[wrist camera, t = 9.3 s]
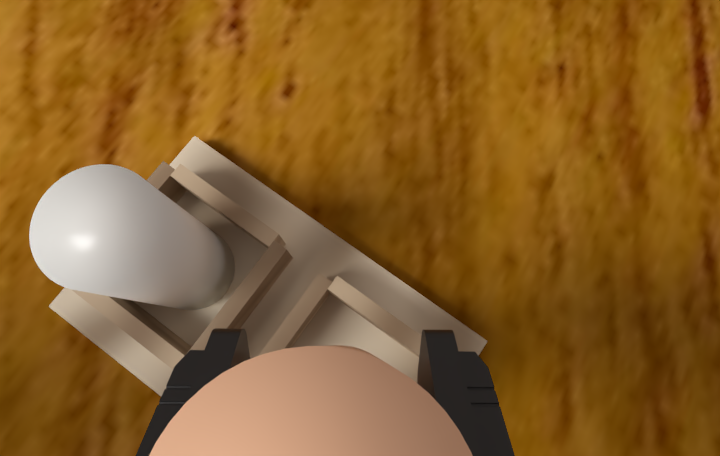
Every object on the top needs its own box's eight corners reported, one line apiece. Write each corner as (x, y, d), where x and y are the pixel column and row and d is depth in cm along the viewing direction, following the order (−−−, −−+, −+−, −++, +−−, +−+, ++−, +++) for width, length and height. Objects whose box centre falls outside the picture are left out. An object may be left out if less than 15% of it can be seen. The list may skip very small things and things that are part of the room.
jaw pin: (136, 278, 26) (1, 240, 16) (189, 214, 26) (91, 141, 17) (199, 327, 25) (99, 318, 15) (251, 259, 26) (188, 210, 16)
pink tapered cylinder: (243, 432, 15) (46, 584, 6) (324, 318, 16) (277, 280, 6) (354, 520, 15) (351, 864, 5) (432, 398, 16) (559, 486, 6)
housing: (59, 307, 26) (15, 302, 23) (200, 142, 29) (178, 115, 25) (355, 543, 24) (354, 577, 20) (482, 341, 26) (501, 341, 23)
